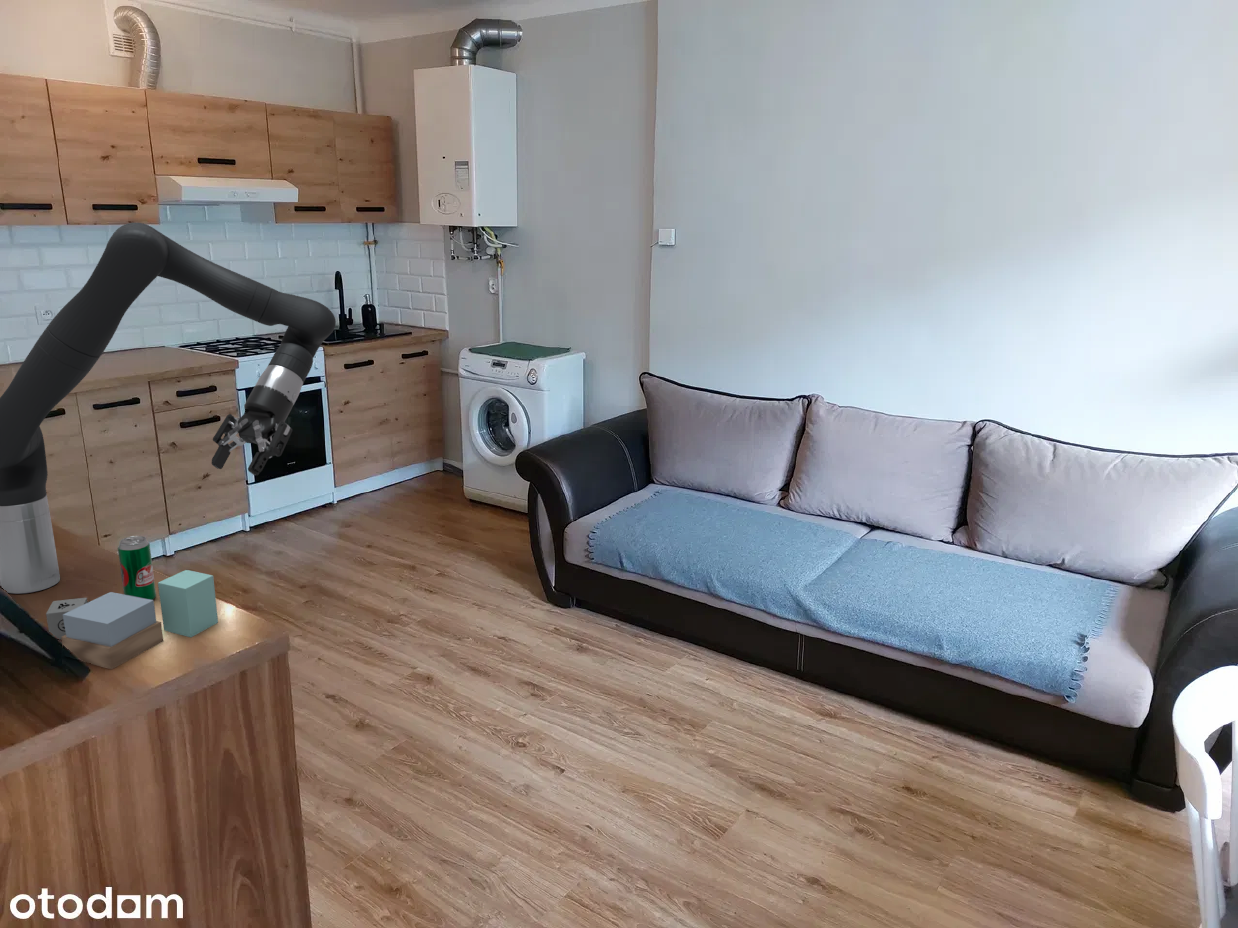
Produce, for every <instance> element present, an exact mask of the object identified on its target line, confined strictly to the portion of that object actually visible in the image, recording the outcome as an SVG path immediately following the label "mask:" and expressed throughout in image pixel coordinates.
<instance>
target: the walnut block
mask: <svg viewBox="0 0 1238 928" xmlns="http://www.w3.org/2000/svg"><path fill="white" fill-rule="evenodd" d="M162 625H163V624H162V622H161V621H158V620H156V623H154V624H152V625H150V626H149V627H147V628H145V629H143V630H141V631H139V632H138V633H136V634H134V635H132V636H130V637H128V638H127V639H125V640H123V641H121V642H119V643H117V644H116V645H114V646H112V647H109V646H104V645H100V644H95V643H91V642H86V641H81V640H77V639H72V638H68V637H66V635H64V636H62V637H61V638H62V639H61V642H62V643H61V644H62V646H63V645H64V646H65V647H66V648H67V649H69V650H70V651H71V652H73V653H74V654H75V655H76V656H77V657H78V658H80V659H81V660H83V661H85V662H84V663H86V662H87V663H86V664H89V663H91V665H93V666H97V667H101V668H104V669H105V668H106V669H109V670H114V669H115V668H117V667H118V666H120V665H122V664H125V663H126V662H128V661H130V660H132V659H133V658H136V657H137V656H139V655H141V654H143V653H145V652H146V650H147V651H149V650H150V649H152V648H154V647H156V646H157V645H159V644H161V643H163V642H164V636H163V635H164V634H163V628H162ZM144 651H145V652H144Z"/></svg>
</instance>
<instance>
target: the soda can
mask: <svg viewBox="0 0 1238 928" xmlns="http://www.w3.org/2000/svg"><path fill="white" fill-rule="evenodd" d="M147 539H148V538H147V537H146V536H145V535H144V536H143V535H132V536H128V537H127V536H126V537H124V538H122V539H120V540H119V541H118V542H119V543H118V544H119V545H118V546H117V552H118V553H117V555H118V558H119V559H118V560H119V567H120V574H121V582H122V583H121V584H122V590H123V594H124V595H129V596H134V597H139V598H144V599H150V600H155V598H157V591H156V583H155V576H154V568H153V561H152V553H151V551H152V550H151V546H150V542H149V541H148V540H147Z"/></svg>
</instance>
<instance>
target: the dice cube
mask: <svg viewBox="0 0 1238 928" xmlns="http://www.w3.org/2000/svg"><path fill="white" fill-rule="evenodd" d="M88 602H89V601H88V597H79V598H70V599H69V598H68V599H63V600H61V599H60V600H53V601H52V603H51V604H50V606H49V607H48V610H47V611H46V613H45V616H46V622H47V629H48V633H49V632H51V633H52V634H53V635H55V636H56V637H57V638H59V640H62V638H61V637H62V636H64V635H66V632H65V626H64V620H63V614H65V613H67V612H69V611H71V610H73V609H76V608H78V607H80V606H82V605H84V604H86V603H88Z"/></svg>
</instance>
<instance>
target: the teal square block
mask: <svg viewBox="0 0 1238 928" xmlns="http://www.w3.org/2000/svg"><path fill="white" fill-rule="evenodd" d="M214 580H215V579H214V575H212V574H208V573H204V572H198V571H194V570H189V569H185V570H183V571H180V572H178V573H176V574H174V575H171V576H170V577H167V578H165V579H163V580H161V581H159V582H157V586H158V594H159V595H158V596H159V602H160V610H161V618H162V625H163V631H164V632H167V631H168V633H169V632H170V633H172V634H177V635H179V636H180V635H181V636H184V637H188V638H193V637H194V636H196V635H198V634H200V633H202V632H204V631H205V630H207V629H209V628H211V627H213V626H215V625H217V624H218V623H219V620H218V619H219V618H218V609H217V600H216V598H217V597H216V591H215V590H216V589H215V582H214Z"/></svg>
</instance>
